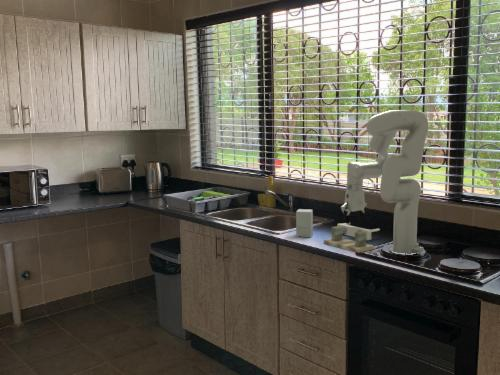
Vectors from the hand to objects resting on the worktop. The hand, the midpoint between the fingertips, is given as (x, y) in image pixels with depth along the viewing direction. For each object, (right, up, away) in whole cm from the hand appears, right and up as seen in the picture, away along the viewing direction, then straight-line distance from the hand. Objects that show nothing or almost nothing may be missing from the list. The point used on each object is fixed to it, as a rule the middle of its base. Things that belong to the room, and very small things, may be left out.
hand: (353, 221), depth 244 cm
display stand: (-6, -10, -19) cm, 22 cm away
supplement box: (-24, -7, +3) cm, 25 cm away
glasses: (+2, -7, +2) cm, 8 cm away
